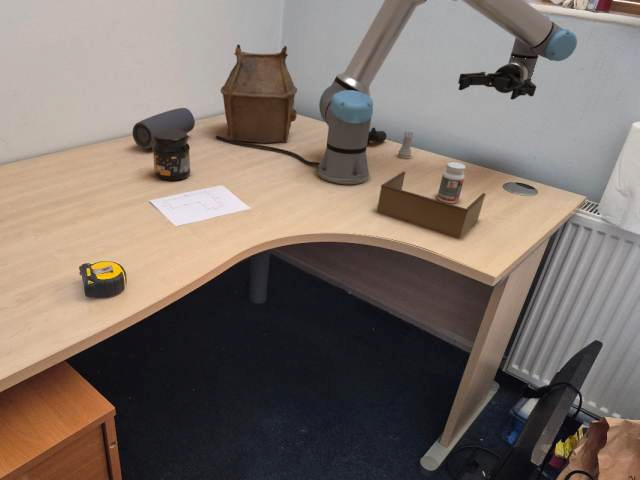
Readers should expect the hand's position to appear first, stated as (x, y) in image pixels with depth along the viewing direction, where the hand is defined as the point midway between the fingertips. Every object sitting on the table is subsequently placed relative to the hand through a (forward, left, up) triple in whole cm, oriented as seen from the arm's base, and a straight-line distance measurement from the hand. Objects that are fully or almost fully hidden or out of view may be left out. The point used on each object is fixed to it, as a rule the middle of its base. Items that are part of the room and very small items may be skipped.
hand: (486, 89), depth 136 cm
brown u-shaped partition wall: (-6, -23, -28) cm, 37 cm away
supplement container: (-79, -30, -28) cm, 89 cm away
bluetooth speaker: (-96, -6, -28) cm, 100 cm away
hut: (-72, +18, -28) cm, 79 cm away
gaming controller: (-37, +30, -28) cm, 55 cm away
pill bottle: (-2, -9, -28) cm, 30 cm away
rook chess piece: (-20, +21, -28) cm, 40 cm away
